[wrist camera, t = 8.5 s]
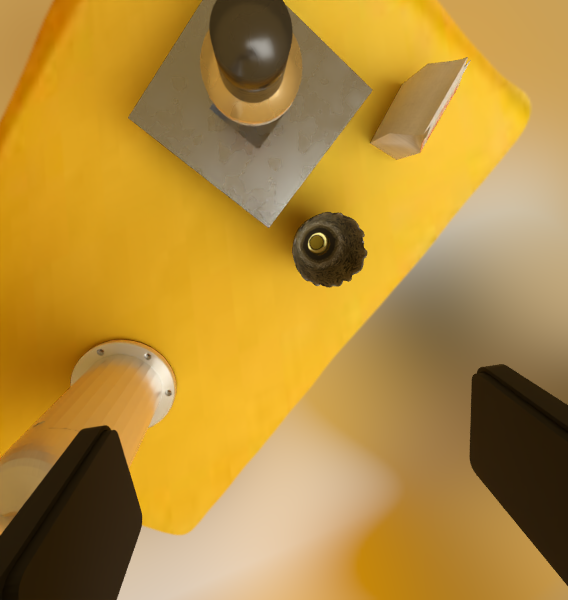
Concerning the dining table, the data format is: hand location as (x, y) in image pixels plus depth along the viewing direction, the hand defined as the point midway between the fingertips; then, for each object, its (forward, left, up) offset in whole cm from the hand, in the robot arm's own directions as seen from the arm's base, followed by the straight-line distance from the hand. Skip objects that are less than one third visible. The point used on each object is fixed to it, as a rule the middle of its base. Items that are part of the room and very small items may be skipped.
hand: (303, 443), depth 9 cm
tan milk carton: (+21, -3, -35) cm, 41 cm away
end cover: (+11, +10, -25) cm, 29 cm away
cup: (+5, -4, -34) cm, 35 cm away
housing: (+11, +10, -34) cm, 37 cm away
